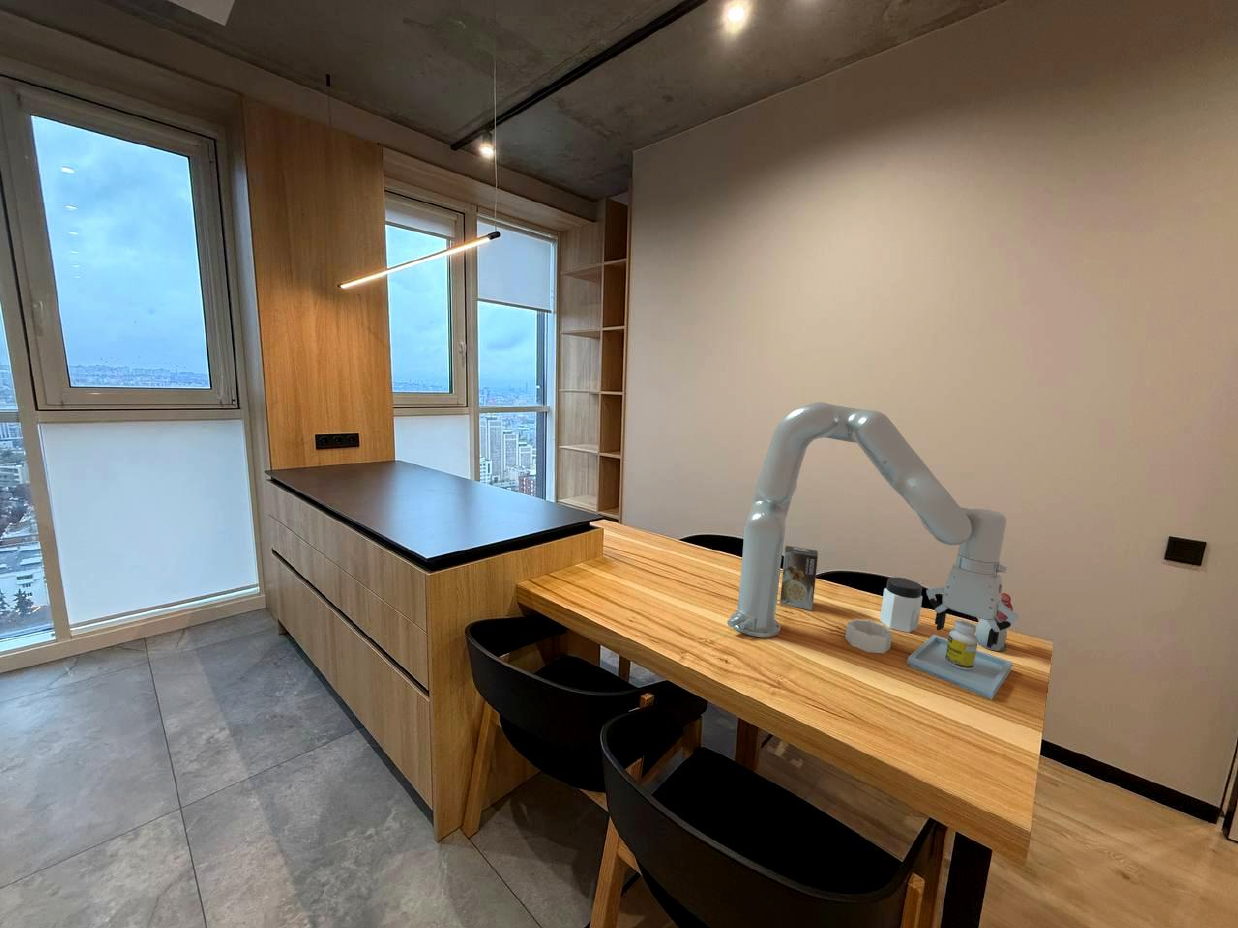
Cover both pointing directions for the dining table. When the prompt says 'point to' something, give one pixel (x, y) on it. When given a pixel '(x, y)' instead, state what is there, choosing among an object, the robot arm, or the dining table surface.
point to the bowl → (868, 636)
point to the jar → (901, 604)
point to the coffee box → (799, 577)
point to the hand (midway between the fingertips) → (964, 636)
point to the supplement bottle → (962, 645)
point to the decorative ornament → (985, 627)
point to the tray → (978, 680)
